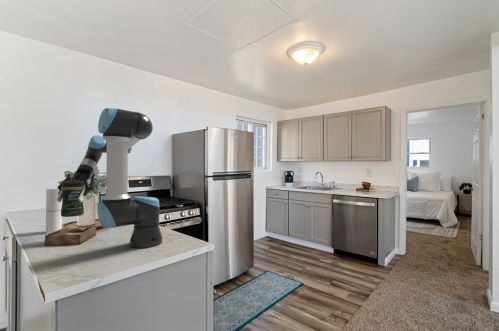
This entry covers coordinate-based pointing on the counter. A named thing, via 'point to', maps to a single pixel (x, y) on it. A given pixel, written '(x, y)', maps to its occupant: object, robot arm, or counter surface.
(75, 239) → the cradle
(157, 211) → the robot arm
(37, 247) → the counter surface
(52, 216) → the cylindrical container
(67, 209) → the coffee jar
